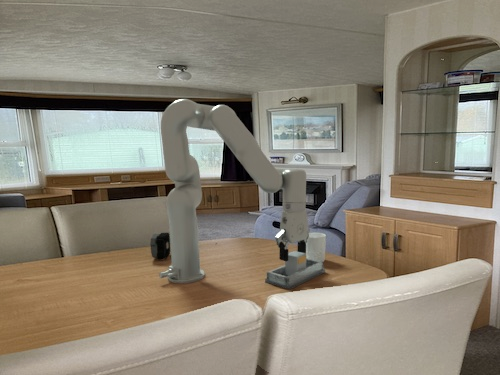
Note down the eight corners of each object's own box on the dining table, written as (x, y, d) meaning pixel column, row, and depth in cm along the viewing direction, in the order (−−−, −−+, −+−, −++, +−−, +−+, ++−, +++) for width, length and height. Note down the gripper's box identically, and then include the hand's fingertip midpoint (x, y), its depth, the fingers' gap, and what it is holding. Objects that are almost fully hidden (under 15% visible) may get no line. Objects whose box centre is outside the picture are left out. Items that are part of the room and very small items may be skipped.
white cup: (325, 257, 142) (324, 232, 141) (327, 263, 134) (327, 237, 133) (304, 257, 143) (304, 232, 142) (305, 263, 135) (305, 237, 134)
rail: (289, 289, 111) (289, 278, 111) (265, 281, 118) (264, 271, 118) (325, 272, 125) (325, 262, 125) (301, 266, 132) (301, 257, 132)
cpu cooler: (158, 254, 154) (156, 230, 153) (171, 253, 154) (170, 230, 153) (150, 261, 144) (149, 236, 143) (164, 261, 143) (163, 236, 142)
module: (297, 277, 118) (297, 257, 117) (285, 274, 122) (285, 254, 121) (306, 273, 122) (306, 253, 121) (294, 270, 125) (294, 250, 124)
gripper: (286, 211, 110) (285, 265, 112) (318, 205, 123) (317, 254, 125) (268, 208, 116) (267, 260, 118) (300, 202, 128) (299, 249, 130)
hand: (292, 257), depth 121 cm, fingers open, 9 cm apart
